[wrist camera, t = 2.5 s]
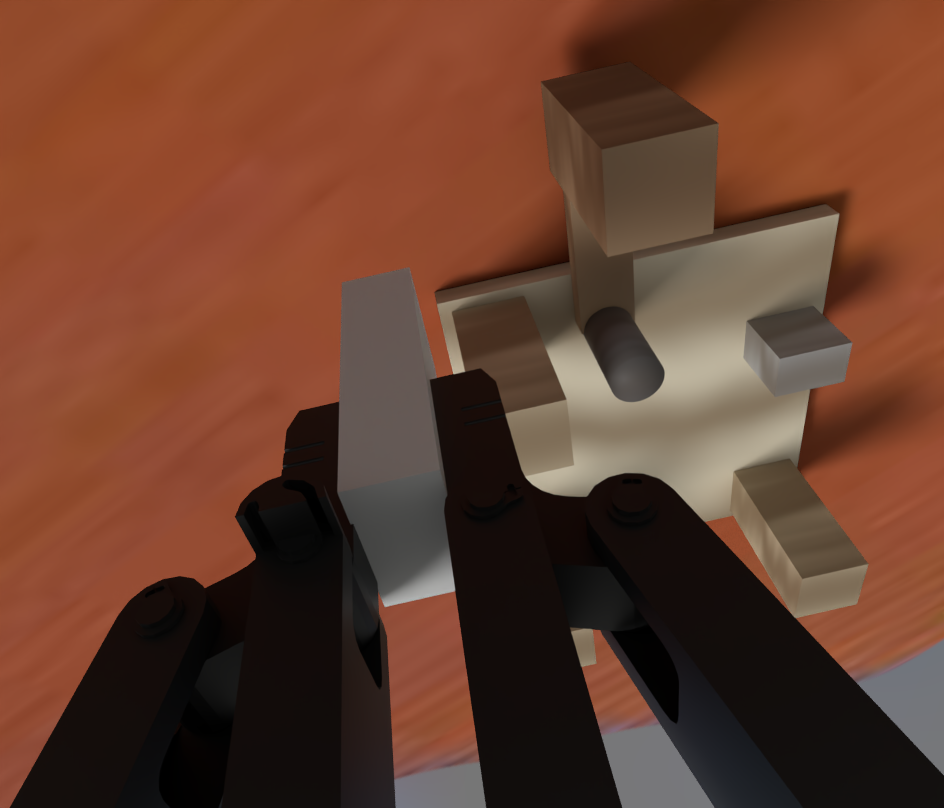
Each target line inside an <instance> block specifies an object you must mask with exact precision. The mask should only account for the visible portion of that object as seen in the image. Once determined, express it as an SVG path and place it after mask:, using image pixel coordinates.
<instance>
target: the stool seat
mask: <svg viewBox="0 0 944 808" xmlns="http://www.w3.org/2000/svg"><path fill="white" fill-rule="evenodd" d="M838 219H839V213H838V212H836V211H835V210H834V209H832V208H831V207H829V206H828V205H827V204H824V205H820V206H815V207H811V208H806V209H802V210H797V211H793V212H788V213H784V214H780V215H775V216H771V217H766V218H762V219H757V220H753V221H749V222H744V223H740V224H735V225H731V226H726V227H722V228H717V229H714V230H713V234H708V235H704V236H699V237H695V238H690V239H686V240H682V241H677V242H673V243H668V244H664V245H659V246H655V247H651V248H646V249H642V250H637V251H633V267H634V300H635V323H636V325H637V326H638V328H639V329H640V331H641V332H642V334H643V336H644V337H645V339H646V340H647V342H648V344H649V345H650V347H651V348H652V350H653V352H654V353H655V355H656V356H657V358H658V359H659V361H660V363H661V364H662V366H663V368H664V372H665V377H664V381H663V383H662V385H661V387H660V388H659V389H658V390H657V391H656V392H655V393H654V394H653V395H652V396H650V397H648V398H646V399H644V400H642V401H638V402H625V401H622V400H619V399H618V398H616V397H615V396H614V394H613V393H612V391H611V389H610V387H609V385H608V383H607V381H606V379H605V377H604V375H603V373H602V371H601V369H600V367H599V365H598V363H597V361H596V359H595V357H594V355H593V353H592V351H591V349H590V347H589V345H588V343H587V341H586V339H585V337H584V335H583V334H581V332H580V330H579V328H578V326H577V324H576V322H575V312H574V301H573V291H572V280H571V269H570V262H566V263H562V264H558V265H553V266H549V267H544V268H540V269H535V270H531V271H527V272H522V273H518V274H513V275H509V276H504V277H500V278H495V279H491V280H487V281H482V282H478V283H473V284H469V285H464V286H460V287H455V288H451V289H447V290H442V291H438V292H435V297H436V302H437V306H438V311H439V315H440V319H441V323H442V328H443V332H444V336H445V340H446V345H447V349H448V353H449V357H450V362H451V366H452V370H453V374H457V373H461V372H466V371H470V370H475V369H479V368H481V369H482V370H484V371H485V372H486V373H487V374H488V375H489V376H490V377H492V378H493V379H494V380H495V381H496V383H497V387H498V390H499V393H500V397H501V401H502V404H503V407H504V411H505V415H506V418H507V421H508V425H509V428H510V432H511V435H512V438H513V442H514V445H515V449H516V452H517V456H518V459H519V463H520V466H521V469H522V471H523V473H524V475H525V477H526V479H527V480H528V481H529V482H530V483H531V484H532V485H534V486H535V487H537V488H539V489H540V490H542V491H545V492H548V493H551V494H554V495H562V496H576V497H587V496H588V494H589V493H590V492H591V490H592V489H593V487H594V486H595V485H597V484H598V483H600V482H601V481H603V480H604V479H606V478H608V477H611V476H615V475H619V474H623V473H643V474H646V475H650V476H653V477H656V478H659V479H661V480H662V481H663V482H665V483H666V484H668V485H669V486H670V487H672V488H673V489H674V490H675V491H676V492H677V493H678V494H679V495H680V496H681V498H682V499H683V500H684V501H685V502H686V503H687V504H688V505H689V506H690V507H691V508H692V509H693V510H694V511H695V512H696V513H697V514H698V516H699V517H700V518H701V519H702V520H703V521H704V522H706V521H710V520H715V519H719V518H724V517H728V516H732V515H733V516H734V517H735V519H736V521H737V523H738V524H739V526H740V528H741V529H742V531H743V533H744V534H745V536H746V538H747V539H748V541H749V543H750V544H751V546H752V548H753V549H754V551H755V553H756V555H757V556H758V558H759V560H760V561H761V563H762V565H763V566H764V568H765V570H766V571H767V573H768V575H769V576H770V578H771V580H772V581H773V583H774V585H775V586H776V588H777V590H778V592H779V593H780V595H781V597H782V598H783V600H784V602H785V603H786V605H787V607H788V608H789V610H790V612H791V613H792V615H793V616H794V617H795V618H798V617H802V616H807V615H811V614H815V613H820V612H824V611H828V610H833V609H837V608H842V607H846V606H850V605H855V604H857V602H858V598H859V595H860V591H861V588H862V584H863V581H864V578H865V574H866V571H867V567H868V563H867V561H866V560H865V559H864V557H863V556H862V555H861V553H860V552H859V551H858V549H857V548H856V547H855V545H854V544H853V543H852V541H851V540H850V539H849V537H848V536H847V535H846V533H845V532H844V531H843V529H842V528H841V527H840V525H839V524H838V523H837V521H836V520H835V519H834V517H833V516H832V515H831V513H830V512H829V511H828V509H827V508H826V506H825V505H824V504H823V502H822V501H821V500H820V498H819V497H818V496H817V494H816V493H815V492H814V490H813V489H812V488H811V486H810V485H809V484H808V482H807V481H806V480H805V478H804V477H803V476H802V474H801V473H800V472H799V470H798V469H797V466H798V460H799V454H800V448H801V442H802V436H803V430H804V424H805V417H806V411H807V405H808V399H809V393H810V389H813V388H818V387H822V386H827V385H831V384H835V383H840V382H844V380H845V376H846V371H847V366H848V361H849V356H850V351H851V346H852V342H851V341H850V340H849V339H848V338H847V337H846V336H845V335H844V334H843V333H842V332H840V331H839V330H838V329H837V328H836V327H835V326H834V325H833V324H832V323H831V322H830V321H829V320H828V319H827V318H826V317H825V316H824V315H823V309H824V303H825V297H826V291H827V285H828V279H829V273H830V267H831V261H832V255H833V249H834V243H835V237H836V231H837V225H838ZM570 629H571V633H572V636H573V640H574V643H575V647H576V650H577V653H578V657H579V660H580V664H581V667H583V666H587V665H592V664H596V656H595V647H594V638H593V629H583V628H571V627H570Z"/></svg>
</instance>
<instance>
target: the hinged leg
mask: <svg viewBox="0 0 944 808" xmlns="http://www.w3.org/2000/svg"><path fill="white" fill-rule="evenodd" d="M541 89H542V98H543V108H544V117H545V127H546V137H547V146H548V156H549V165H550V171H551V173H552V174H553V176H554V177H555V179H556V180H557V182H558V183H559V185H560V186H561V188H562V189H563V195H564V205H565V216H566V227H567V237H568V248H569V259H570V269H571V280H572V291H573V301H574V312H575V322H576V324H577V326H578V328H579V330H580V332H581V334H583V335H584V337H585V339H586V341H587V343H588V345H589V347H590V349H591V351H592V353H593V355H594V357H595V359H596V361H597V363H598V365H599V367H600V369H601V371H602V373H603V375H604V377H605V379H606V381H607V383H608V385H609V387H610V389H611V391H612V393H613V394H614V396H615V397H616V398H618V399H619V400H622V401H625V402H638V401H642V400H644V399H646V398H648V397H650V396H652V395H653V394H654V393H655V392H656V391H657V390H658V389H659V388H660V387H661V385H662V383H663V381H664V377H665V372H664V368H663V366H662V364H661V363H660V361H659V359H658V358H657V356H656V355H655V353H654V352H653V350H652V348H651V347H650V345H649V344H648V342H647V340H646V339H645V337H644V336H643V334H642V332H641V331H640V329H639V328H638V326H637V325H636V323H635V300H634V267H633V251H637V250H642V249H646V248H651V247H655V246H659V245H664V244H668V243H673V242H677V241H682V240H686V239H690V238H695V237H699V236H704V235H708V234H713V230H714V209H715V188H716V167H717V146H718V124H719V123H717V122H716V121H714V120H713V119H712V118H710V117H709V116H707V115H706V114H704V113H703V112H702V111H700V110H699V109H697V108H696V107H694V106H693V105H691V104H690V103H689V102H687V101H686V100H684V99H683V98H681V97H680V96H678V95H677V94H676V93H674V92H673V91H671V90H670V89H668V88H667V87H666V86H664V85H663V84H661V83H660V82H658V81H657V80H655V79H654V78H653V77H651V76H650V75H648V74H647V73H645V72H644V71H643V70H641V69H640V68H638V67H637V66H635V65H634V64H632V63H631V62H626V63H622V64H617V65H613V66H608V67H604V68H599V69H595V70H590V71H586V72H581V73H577V74H573V75H568V76H564V77H559V78H555V79H550V80H546V81H541Z"/></svg>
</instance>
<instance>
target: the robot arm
mask: <svg viewBox="0 0 944 808" xmlns="http://www.w3.org/2000/svg"><path fill="white" fill-rule="evenodd" d="M284 450H285V453H284V458H283V470H282V475H281V476H280V477H277V478H274V479H271V480H269V481H266V482H265V483H263V484H262V485H260V486H259V487H257V488H256V489H254V490H253V491H252V492H251V493H250V494H249V495H248V496H247V497H246V498H245V499H244V500H243V501H242V503H241V504H240V506H239V509H238V511H237V513H236V516H235V518H236V519H237V521H238V523H239V525H240V527H241V528H242V530H243V532H244V534H245V536H246V537H247V539H248V541H249V543H250V544H251V546H252V548H253V550H254V552H255V553H256V559H255V560H254V561H253V562H252V563H250V564H249V565H248V566H247V567H245V568H243V569H242V570H240V571H238V572H237V573H235V574H233V575H231V576H229V577H227V578H225V579H223V580H221V581H219V582H217V583H215V584H213V585H211V586H209V587H207V588H204V587H203V586H202V585H201V584H200V583H199V582H197V581H196V580H195V579H193V578H187V577H181V576H178V577H173V578H168V579H163V580H161V581H159V582H157V583H154V584H152V585H150V586H148V587H146V588H145V589H143V590H142V591H141V592H140V593H138V594H137V595H136V596H135V597H133V598H132V599H131V600H130V601H129V602H128V603H127V605H126V606H125V607H124V609H123V610H122V611H121V612H120V614H119V615H118V617H117V618H116V620H115V622H114V624H113V626H112V627H111V629H110V631H109V633H108V634H107V636H106V638H105V640H104V641H103V643H102V645H101V647H100V649H99V650H98V652H97V654H96V656H95V657H94V659H93V661H92V663H91V665H90V666H89V668H88V670H87V672H86V673H85V675H84V677H83V679H82V680H81V682H80V684H79V686H78V688H77V689H76V691H75V693H74V695H73V696H72V698H71V700H70V702H69V704H68V705H67V707H66V709H65V711H64V712H63V714H62V716H61V718H60V720H59V721H58V723H57V725H56V727H55V728H54V730H53V732H52V734H51V735H50V737H49V739H48V741H47V743H46V744H45V746H44V748H43V750H42V751H41V753H40V755H39V757H38V759H37V760H36V762H35V764H34V766H33V767H32V769H31V771H30V773H29V774H28V776H27V778H26V780H25V782H24V783H23V785H22V787H21V789H20V790H19V792H18V794H17V796H16V798H15V799H14V801H13V803H12V805H11V806H10V808H396V807H395V789H394V768H393V748H392V728H391V708H390V689H389V669H388V649H387V635H386V632H385V628H384V625H383V622H382V620H381V618H380V615H379V605H378V592H379V594H380V597H381V599H382V601H383V604H384V606H385V607H387V606H391V605H396V604H400V603H404V602H409V601H413V600H418V599H422V598H427V597H431V596H435V595H440V594H444V593H449V592H453V591H455V592H456V599H457V606H458V613H459V620H460V627H461V634H462V641H463V648H464V655H465V662H466V669H467V676H468V683H469V690H470V697H471V704H472V711H473V718H474V725H475V732H476V739H477V746H478V753H479V760H480V767H481V774H482V781H483V788H484V795H485V802H486V808H622V805H621V802H620V799H619V795H618V792H617V788H616V785H615V781H614V778H613V774H612V771H611V767H610V764H609V761H608V757H607V754H606V750H605V747H604V743H603V740H602V736H601V733H600V729H599V726H598V723H597V719H596V716H595V712H594V709H593V705H592V702H591V698H590V695H589V691H588V688H587V685H586V681H585V678H584V674H583V671H582V667H581V664H580V660H579V657H578V653H577V650H576V647H575V643H574V640H573V636H572V633H571V629H570V627H571V628H583V629H595V630H601V633H602V635H603V636H604V638H605V639H606V641H607V642H608V644H609V645H610V647H611V649H612V650H613V652H614V653H615V655H616V656H617V658H618V659H619V661H620V662H621V664H622V665H623V667H624V669H625V670H626V672H627V673H628V675H629V676H630V678H631V679H632V681H633V682H634V684H635V686H636V687H637V689H638V690H639V692H640V693H641V695H642V696H643V698H644V699H645V701H646V702H647V704H648V706H649V707H650V709H651V710H652V712H653V713H654V715H655V716H656V718H657V719H658V721H659V722H660V724H661V726H662V727H663V729H664V730H665V732H666V733H667V735H668V736H669V737H670V739H671V741H672V742H673V744H674V746H675V747H676V749H677V750H678V752H679V753H680V755H681V756H682V758H683V759H684V761H685V762H686V764H687V766H688V767H689V769H690V770H691V772H692V773H693V775H694V776H695V778H696V779H697V781H698V783H699V784H700V786H701V787H702V789H703V790H704V792H705V793H706V795H707V796H708V798H709V799H710V801H711V803H712V804H713V805H714V807H715V808H944V775H943V774H942V773H941V772H940V771H939V770H938V769H937V768H936V767H935V766H934V765H933V764H932V763H931V761H929V759H928V758H927V757H926V756H925V755H924V754H923V753H922V752H921V751H920V750H919V749H918V748H917V747H916V746H915V745H914V744H913V742H912V741H910V739H909V738H908V737H907V736H906V735H905V734H904V733H903V732H902V731H901V730H900V729H899V728H898V727H897V725H895V723H894V722H893V721H892V720H891V719H890V718H889V717H888V716H887V715H886V714H885V713H884V712H883V711H882V710H881V708H880V707H879V706H878V705H877V704H876V703H875V702H874V701H873V700H872V699H871V698H870V697H869V696H868V695H867V694H866V693H865V692H864V690H863V689H861V687H860V686H859V685H858V684H857V683H856V682H855V681H854V680H853V679H852V678H851V677H850V676H849V675H848V673H847V672H846V671H845V670H844V669H843V668H842V667H841V666H840V665H839V664H838V663H837V662H836V661H835V660H834V659H833V658H832V657H831V655H830V654H829V653H828V652H827V651H826V650H825V649H824V648H823V647H822V646H821V645H820V644H819V643H818V642H817V641H816V640H815V638H814V637H813V636H812V635H811V634H810V633H809V632H808V631H807V630H806V629H805V628H804V627H803V626H802V625H801V624H800V623H799V622H798V620H797V619H796V618H795V617H794V616H793V615H792V614H791V613H790V612H789V611H788V610H787V609H786V608H785V607H784V606H783V605H782V604H781V602H780V601H779V600H778V599H777V598H776V597H775V596H774V595H773V594H772V593H771V592H770V591H769V590H768V589H767V588H766V587H765V585H764V584H763V583H762V582H761V581H760V580H759V579H758V578H757V577H756V576H755V575H754V574H753V573H752V572H751V571H750V570H749V569H748V567H747V566H746V565H745V564H744V563H743V562H742V561H741V560H740V559H739V558H738V557H737V556H736V555H735V554H734V553H733V552H732V551H731V549H730V548H729V547H728V546H727V545H726V544H725V543H724V542H723V541H722V540H721V539H720V538H719V537H718V536H717V535H716V534H715V532H714V531H713V530H712V529H711V528H710V527H709V526H708V525H707V524H706V523H705V522H704V521H703V520H702V519H701V518H700V517H699V516H698V514H697V513H696V512H695V511H694V510H693V509H692V508H691V507H690V506H689V505H688V504H687V503H686V502H685V501H684V500H683V499H682V498H681V496H680V495H679V494H678V493H677V492H676V491H675V490H674V489H673V488H672V487H670V486H669V485H668V484H666V483H665V482H663V481H662V480H661V479H659V478H656V477H653V476H650V475H646V474H643V473H623V474H619V475H615V476H611V477H608V478H606V479H604V480H603V481H601V482H600V483H598V484H597V485H595V486H594V487H593V489H592V490H591V492H590V493H589V494H588V496H587V497H576V496H562V495H554V494H551V493H548V492H545V491H542V490H540V489H539V488H537V487H535V486H534V485H532V484H531V483H530V482H529V481H528V480H527V479H526V477H525V475H524V473H523V471H522V469H521V466H520V463H519V459H518V456H517V452H516V449H515V445H514V442H513V438H512V435H511V432H510V428H509V425H508V421H507V418H506V415H505V411H504V407H503V404H502V401H501V397H500V393H499V390H498V387H497V383H496V381H495V380H494V379H493V378H492V377H490V376H489V375H488V374H487V373H486V372H485V371H484V370H482V369H481V368H479V369H475V370H470V371H466V372H461V373H457V374H452V375H448V376H444V377H439V378H437V377H436V371H435V366H434V362H433V358H432V354H431V350H430V347H429V343H428V339H427V335H426V331H425V327H424V323H423V319H422V315H421V311H420V307H419V303H418V299H417V295H416V291H415V287H414V283H413V280H412V276H411V272H410V268H405V269H400V270H396V271H391V272H387V273H382V274H378V275H373V276H369V277H365V278H360V279H356V280H351V281H347V282H342V308H341V352H340V397H339V402H336V403H332V404H327V405H323V406H319V407H314V408H310V409H305V410H301V411H299V412H298V414H297V415H296V417H295V418H294V420H293V421H292V423H291V425H290V426H289V428H288V429H287V432H286V441H285V449H284Z"/></svg>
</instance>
